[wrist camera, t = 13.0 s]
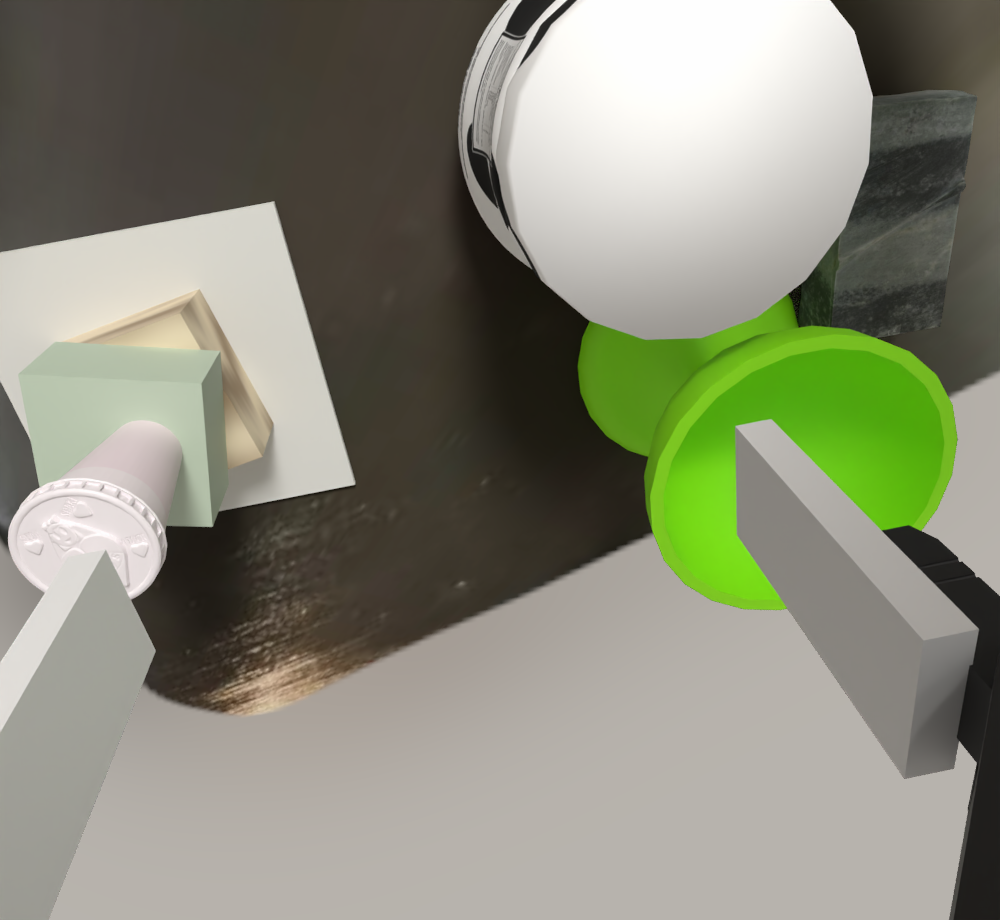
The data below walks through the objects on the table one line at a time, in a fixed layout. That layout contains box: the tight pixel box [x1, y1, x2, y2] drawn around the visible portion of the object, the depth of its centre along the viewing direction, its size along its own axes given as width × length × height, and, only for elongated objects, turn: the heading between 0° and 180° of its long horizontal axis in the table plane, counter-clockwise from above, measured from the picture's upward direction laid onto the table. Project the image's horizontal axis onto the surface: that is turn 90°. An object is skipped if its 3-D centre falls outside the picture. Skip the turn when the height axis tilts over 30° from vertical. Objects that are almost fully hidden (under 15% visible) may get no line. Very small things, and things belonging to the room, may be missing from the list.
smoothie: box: [8, 420, 182, 600], centre depth 37 cm, size 6×6×14 cm
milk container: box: [458, 0, 873, 340], centre depth 40 cm, size 17×17×18 cm
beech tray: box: [62, 289, 273, 469], centre depth 49 cm, size 10×10×5 cm
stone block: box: [798, 90, 977, 338], centre depth 50 cm, size 9×14×5 cm, turn 5°
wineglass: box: [578, 294, 957, 610], centre depth 48 cm, size 16×16×18 cm
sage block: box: [18, 342, 229, 527], centre depth 45 cm, size 9×9×5 cm
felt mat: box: [0, 201, 355, 511], centre depth 52 cm, size 20×20×1 cm
